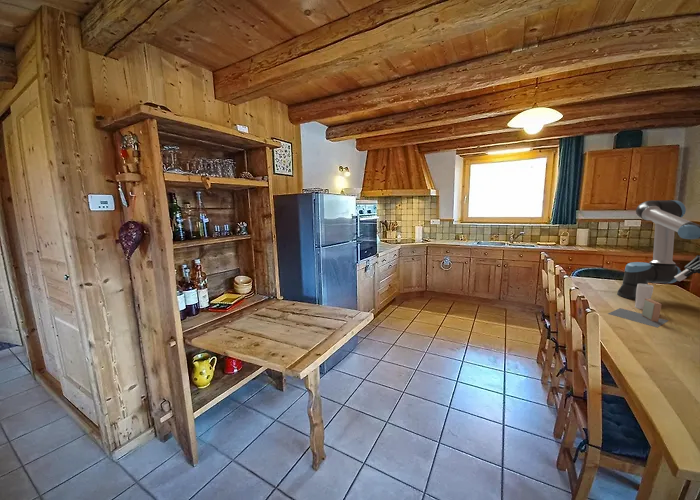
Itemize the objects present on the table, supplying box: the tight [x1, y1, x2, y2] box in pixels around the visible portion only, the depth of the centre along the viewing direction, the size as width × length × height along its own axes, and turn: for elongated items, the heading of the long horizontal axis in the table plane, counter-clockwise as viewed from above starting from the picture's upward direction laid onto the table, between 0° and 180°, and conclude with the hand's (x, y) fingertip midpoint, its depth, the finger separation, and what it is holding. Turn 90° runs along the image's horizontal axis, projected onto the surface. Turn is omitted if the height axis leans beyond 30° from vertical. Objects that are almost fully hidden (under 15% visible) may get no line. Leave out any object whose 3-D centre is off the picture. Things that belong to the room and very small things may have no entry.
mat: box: [607, 308, 669, 328], centre depth 155 cm, size 17×20×1 cm
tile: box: [641, 298, 663, 322], centre depth 152 cm, size 3×8×10 cm, turn 163°
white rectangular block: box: [634, 283, 654, 311], centre depth 166 cm, size 7×7×15 cm
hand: (676, 279), depth 147 cm, fingers closed
